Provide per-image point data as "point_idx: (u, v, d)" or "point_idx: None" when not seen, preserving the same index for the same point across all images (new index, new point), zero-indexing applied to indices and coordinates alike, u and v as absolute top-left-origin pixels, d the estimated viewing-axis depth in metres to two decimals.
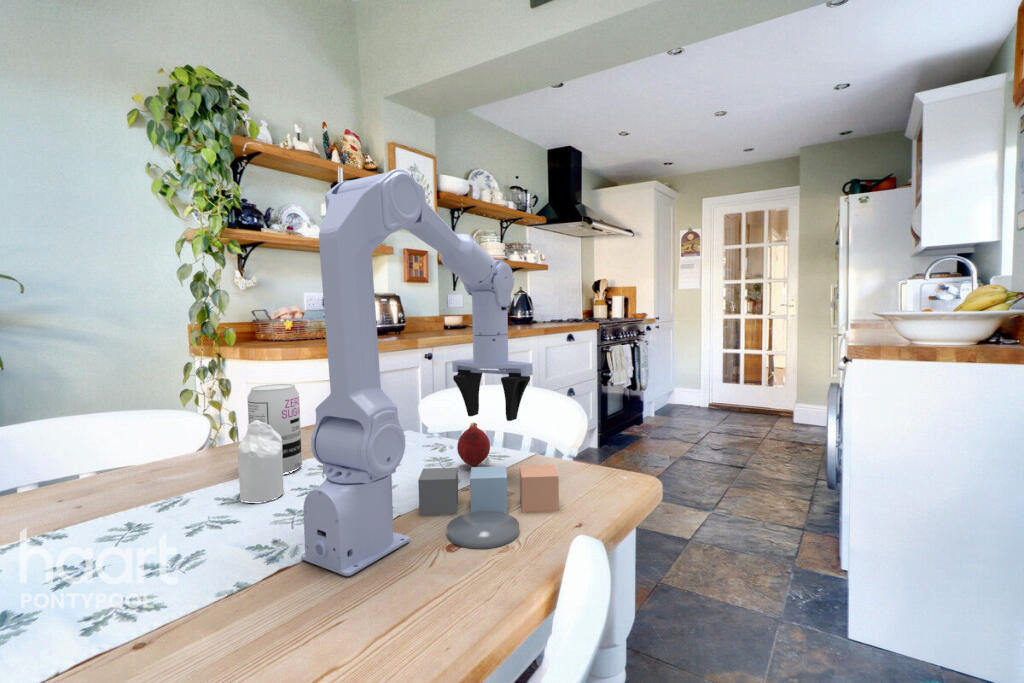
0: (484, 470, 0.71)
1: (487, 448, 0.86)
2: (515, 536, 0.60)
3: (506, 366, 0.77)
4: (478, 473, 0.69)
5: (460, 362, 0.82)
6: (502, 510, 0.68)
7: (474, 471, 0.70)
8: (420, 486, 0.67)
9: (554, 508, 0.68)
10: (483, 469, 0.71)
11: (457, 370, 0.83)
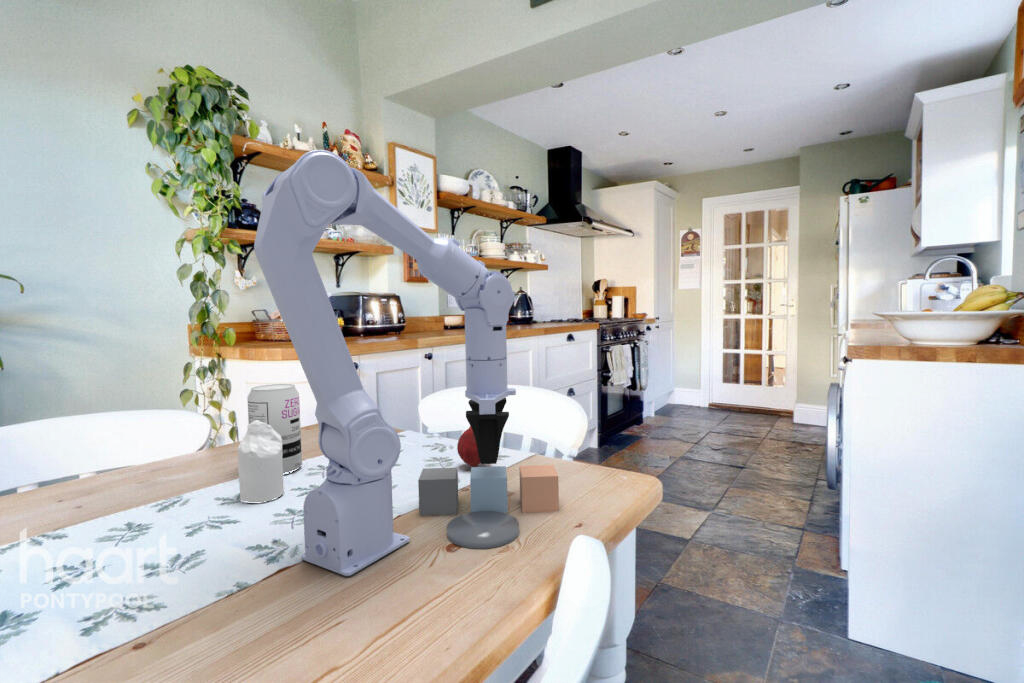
0: (484, 469, 0.71)
1: None
2: (515, 536, 0.60)
3: (473, 398, 0.65)
4: (478, 473, 0.69)
5: None
6: (502, 510, 0.68)
7: (474, 471, 0.70)
8: (420, 486, 0.67)
9: (554, 508, 0.68)
10: (483, 469, 0.71)
11: None
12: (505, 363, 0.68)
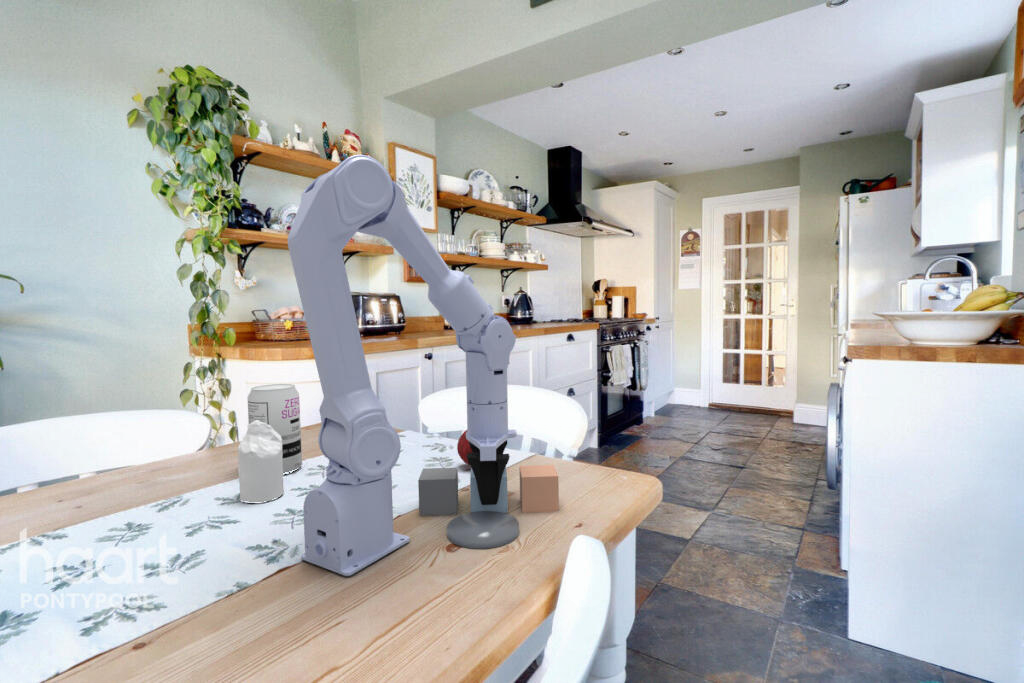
0: None
1: None
2: (515, 536, 0.60)
3: (474, 443, 0.65)
4: None
5: None
6: (502, 509, 0.68)
7: None
8: (420, 486, 0.67)
9: (554, 508, 0.68)
10: None
11: None
12: (506, 406, 0.68)
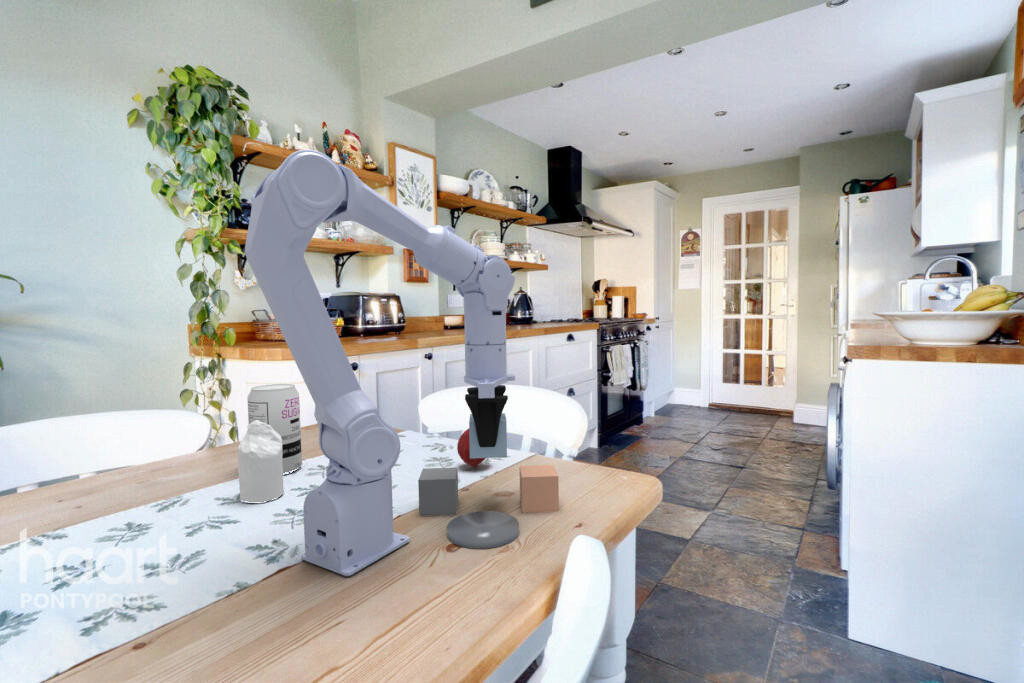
0: None
1: None
2: (515, 536, 0.60)
3: (472, 383, 0.64)
4: None
5: None
6: (502, 454, 0.67)
7: None
8: (420, 486, 0.67)
9: (554, 508, 0.68)
10: None
11: None
12: (504, 348, 0.67)
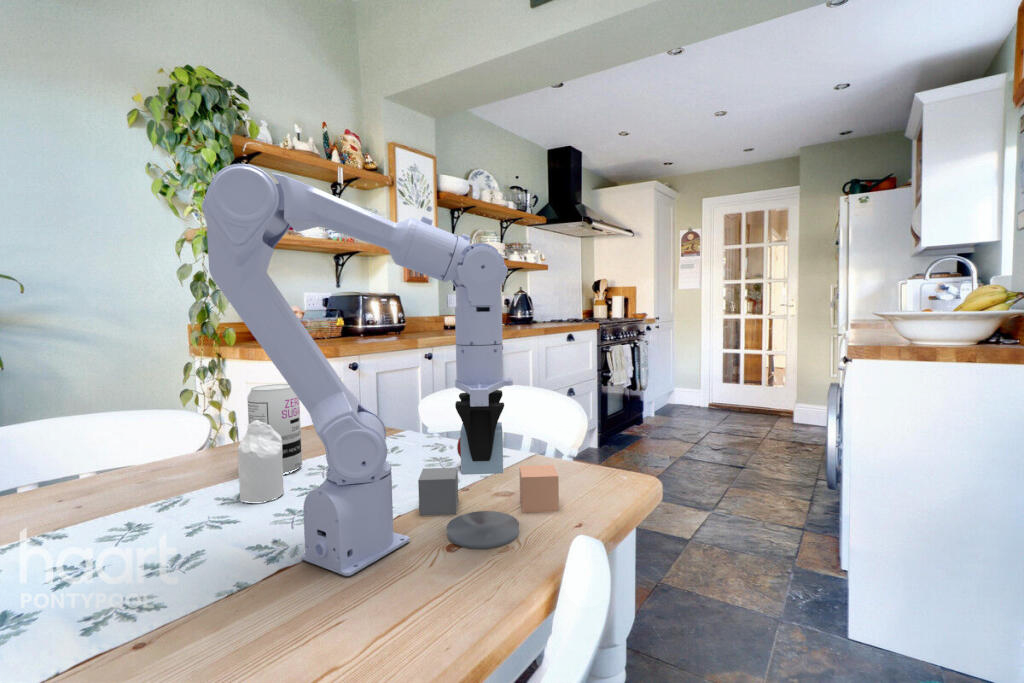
0: None
1: None
2: (515, 536, 0.60)
3: (464, 388, 0.57)
4: None
5: None
6: (497, 470, 0.59)
7: None
8: (420, 486, 0.67)
9: (554, 508, 0.68)
10: None
11: None
12: (500, 349, 0.60)
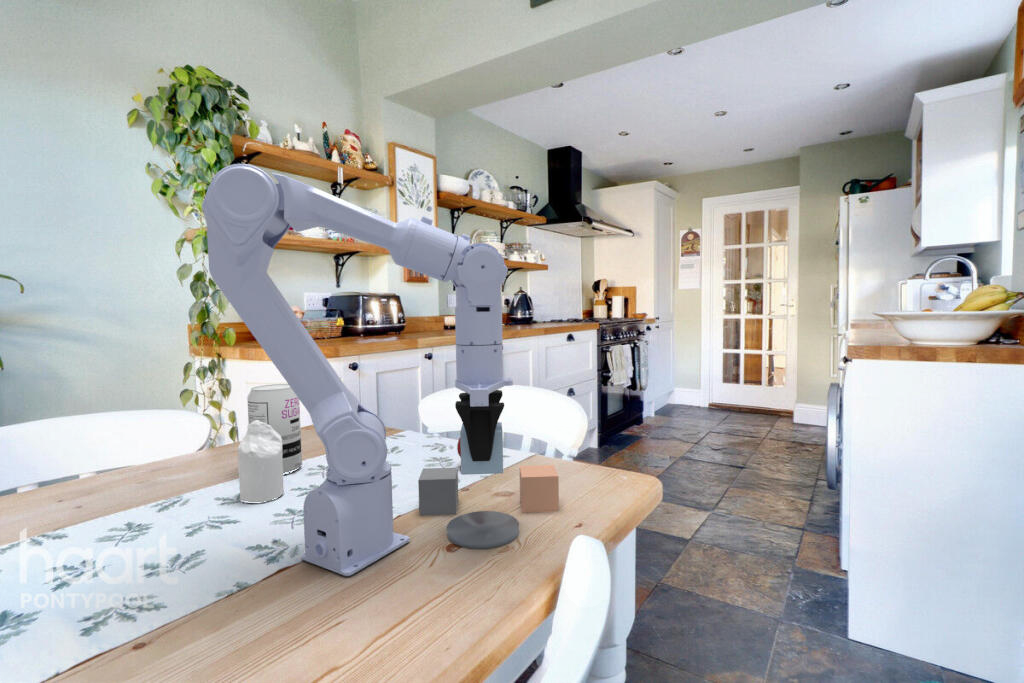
0: None
1: None
2: (515, 536, 0.60)
3: (464, 388, 0.57)
4: None
5: None
6: (497, 470, 0.59)
7: None
8: (420, 486, 0.67)
9: (554, 508, 0.68)
10: None
11: None
12: (500, 349, 0.60)
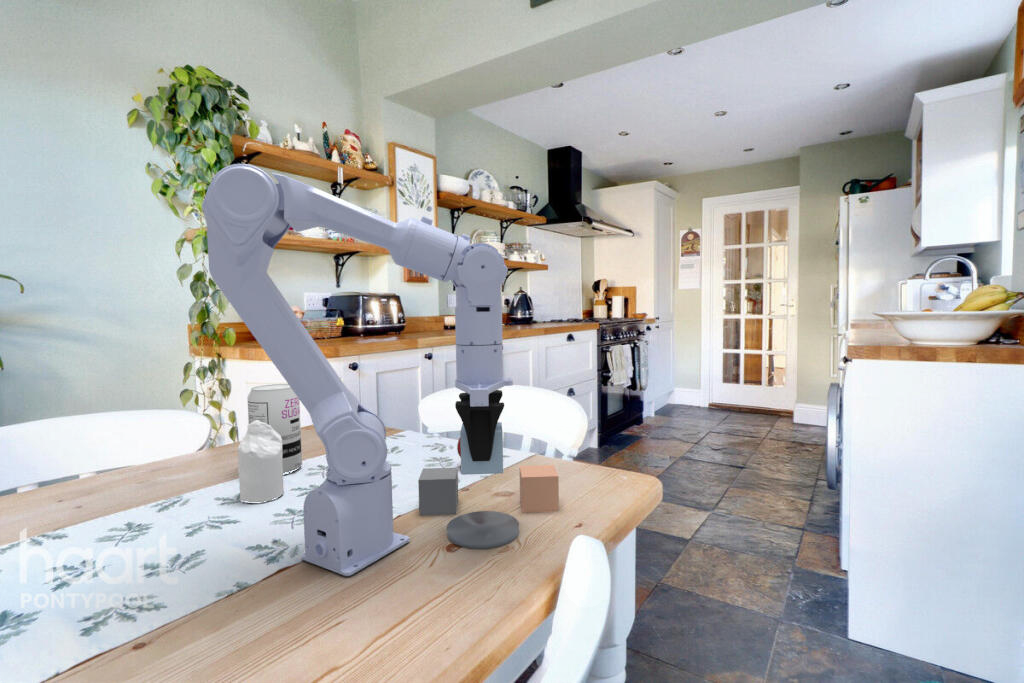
0: None
1: None
2: (515, 536, 0.60)
3: (464, 388, 0.57)
4: None
5: None
6: (497, 470, 0.59)
7: None
8: (420, 486, 0.67)
9: (554, 508, 0.68)
10: None
11: None
12: (500, 349, 0.60)
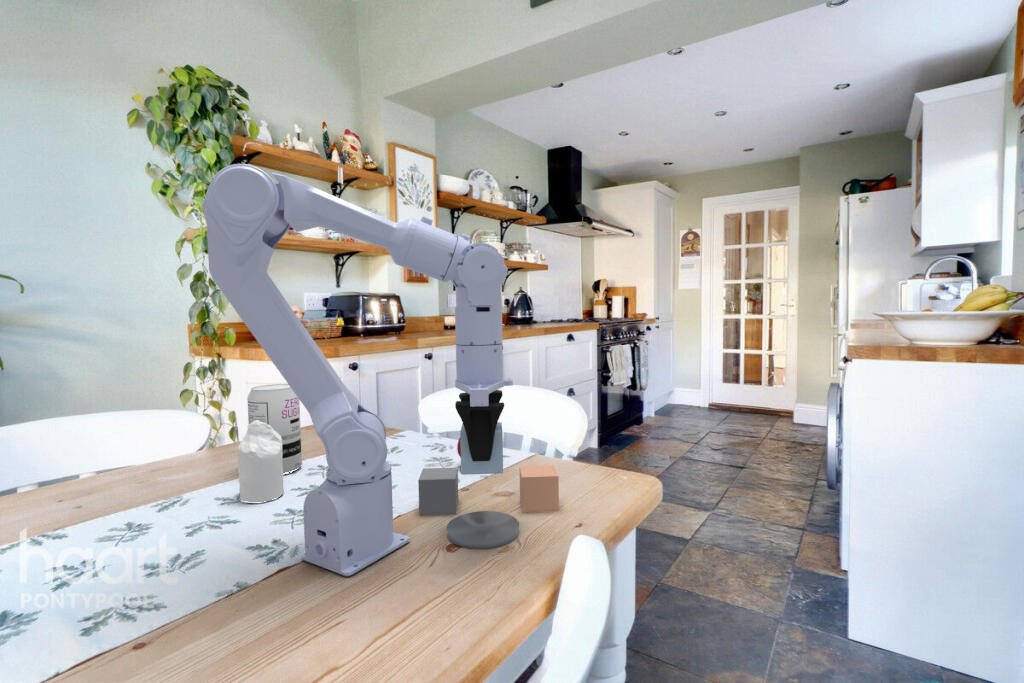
0: None
1: None
2: (515, 536, 0.60)
3: (464, 388, 0.57)
4: None
5: None
6: (497, 470, 0.59)
7: None
8: (420, 486, 0.67)
9: (554, 508, 0.68)
10: None
11: None
12: (500, 349, 0.60)
